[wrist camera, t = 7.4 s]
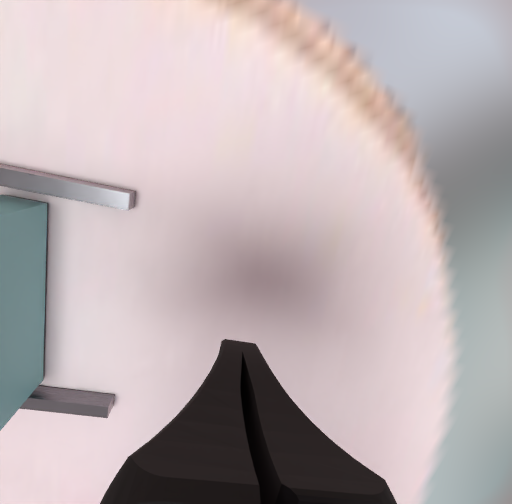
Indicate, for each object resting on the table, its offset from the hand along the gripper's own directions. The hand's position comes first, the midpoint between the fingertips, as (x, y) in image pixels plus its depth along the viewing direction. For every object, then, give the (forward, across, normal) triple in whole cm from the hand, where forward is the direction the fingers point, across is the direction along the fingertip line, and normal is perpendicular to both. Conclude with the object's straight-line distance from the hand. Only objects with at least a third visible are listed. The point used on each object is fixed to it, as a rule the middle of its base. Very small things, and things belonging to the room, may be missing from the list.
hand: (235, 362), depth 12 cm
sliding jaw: (+9, +13, +4) cm, 17 cm away
